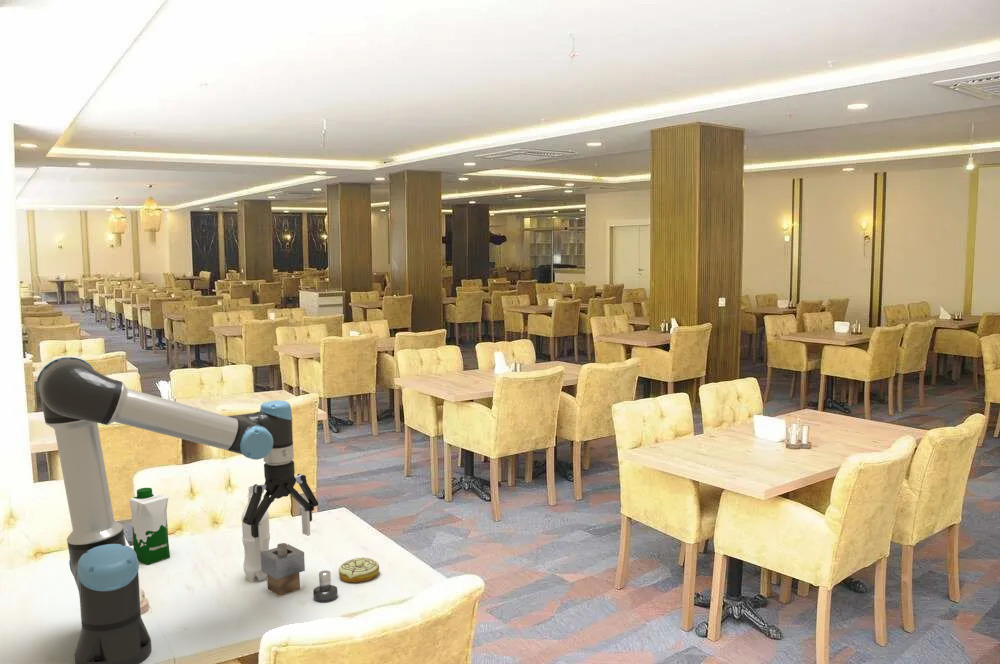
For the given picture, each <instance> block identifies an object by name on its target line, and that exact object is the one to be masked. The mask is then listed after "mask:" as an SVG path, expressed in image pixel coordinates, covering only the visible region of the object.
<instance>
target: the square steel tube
mask: <svg viewBox="0 0 1000 664" xmlns="http://www.w3.org/2000/svg"><path fill="white" fill-rule="evenodd" d="M286 544H287V554H286V555H282V556H278V550H277V547H274V548H271V549H270V548H269V550H267V551H263V552H261V571H263V572H264V573H266V574H268V575H269V576H271V577H273V578H275V579H276V580H278V579H281V578H284V577H287V576H290V575H293V574H296V573H299V574H300V573H302V572H305V571H306V569H305V568H306V567H305V566H306V565H305V564H306V563H305V552H304V551H303V550H301V549H299V548H297V547H295V546H293V545H291V544H289V543H286Z"/></svg>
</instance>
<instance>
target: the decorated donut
mask: <svg viewBox="0 0 1000 664" xmlns="http://www.w3.org/2000/svg"><path fill="white" fill-rule="evenodd" d="M379 571H380V564H379V563H378V561H376V560H375V559H372V558H368V557H355V558H352V559H348V560H346V561H345V562H343V563H342V564H341V565H340V566H339V568H338V574H339V577H340V579H341V580H342V582H344V583H345V582H346V583H357V584H358V583H361V582H366V581H369V580H372V579H374V578H375V577H376V576H377V574H378V573H379Z"/></svg>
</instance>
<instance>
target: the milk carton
mask: <svg viewBox="0 0 1000 664" xmlns="http://www.w3.org/2000/svg"><path fill="white" fill-rule="evenodd" d="M128 500H129V507H130V513H131V525H132V526H131V527H132V541H133V542H132V543H133V547H132V548H133V550H134V551H135V552H136V554H137V559H138V562H139V563H141V564H144V565H146V566H149V565H152V564H155V563H157V562H160V561H163V560H166V559H169V558H171V555H170V544H169V531H168V530H169V528H168V526H169V525H168V512H167V510H168V504H169V503H168V502H169V497H168V496H165V495H163V494H161V493H160V494H159V493H157V492H153V488H151V487H142V488H141V487H140V488H139V489H137V490H136V496H134V497H131V498H129V499H128Z"/></svg>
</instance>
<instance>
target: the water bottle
mask: <svg viewBox="0 0 1000 664" xmlns="http://www.w3.org/2000/svg"><path fill="white" fill-rule="evenodd" d="M253 486H254V485H251V486H248V490H247V491H248V493H247V498H248V499H247V503H246V505H245V507H244V509H243V511H242V514H241V528H242V532H241V533H242V537H241V541H242V545H243V547H244V561H243V564H242V565H243V572H244V574H245V577H246V578H247V580H249V581H251V582H252V581H254V580H255V579H256V577H257V579H258V581H264V580H265V579H267V574H266V573H264V572H263V571H261V552H263V551H267V550H270V540H271V533H270V513H269V511H268V509H267V511H266V513H265V514H264V516H263V517H262V519H261V521H260V522H259V524H261V525H262V539H263V550H259V549H257V548H255V538H254V537H252V535H251V525H248V524H245V523H244V522H243V519H244V516H245V513H246V511H247V508H248V505H249V503H250V500H251V497H252V495H253ZM262 500H263V499H261V500H260V502H259V505H260V503H261V502H262ZM259 505H258V506H259Z"/></svg>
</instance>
